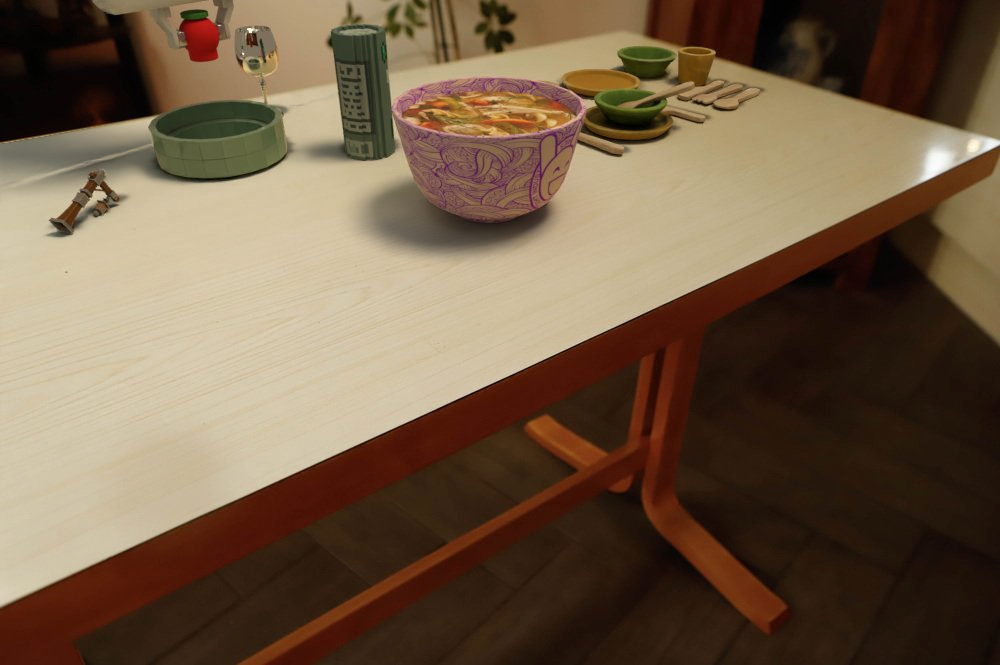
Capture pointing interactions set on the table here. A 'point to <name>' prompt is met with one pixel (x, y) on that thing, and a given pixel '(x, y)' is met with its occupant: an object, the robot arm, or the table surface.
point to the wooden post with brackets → (85, 201)
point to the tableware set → (646, 94)
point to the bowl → (218, 138)
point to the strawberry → (200, 35)
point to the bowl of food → (489, 143)
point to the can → (364, 90)
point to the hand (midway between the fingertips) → (200, 43)
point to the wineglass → (256, 53)
